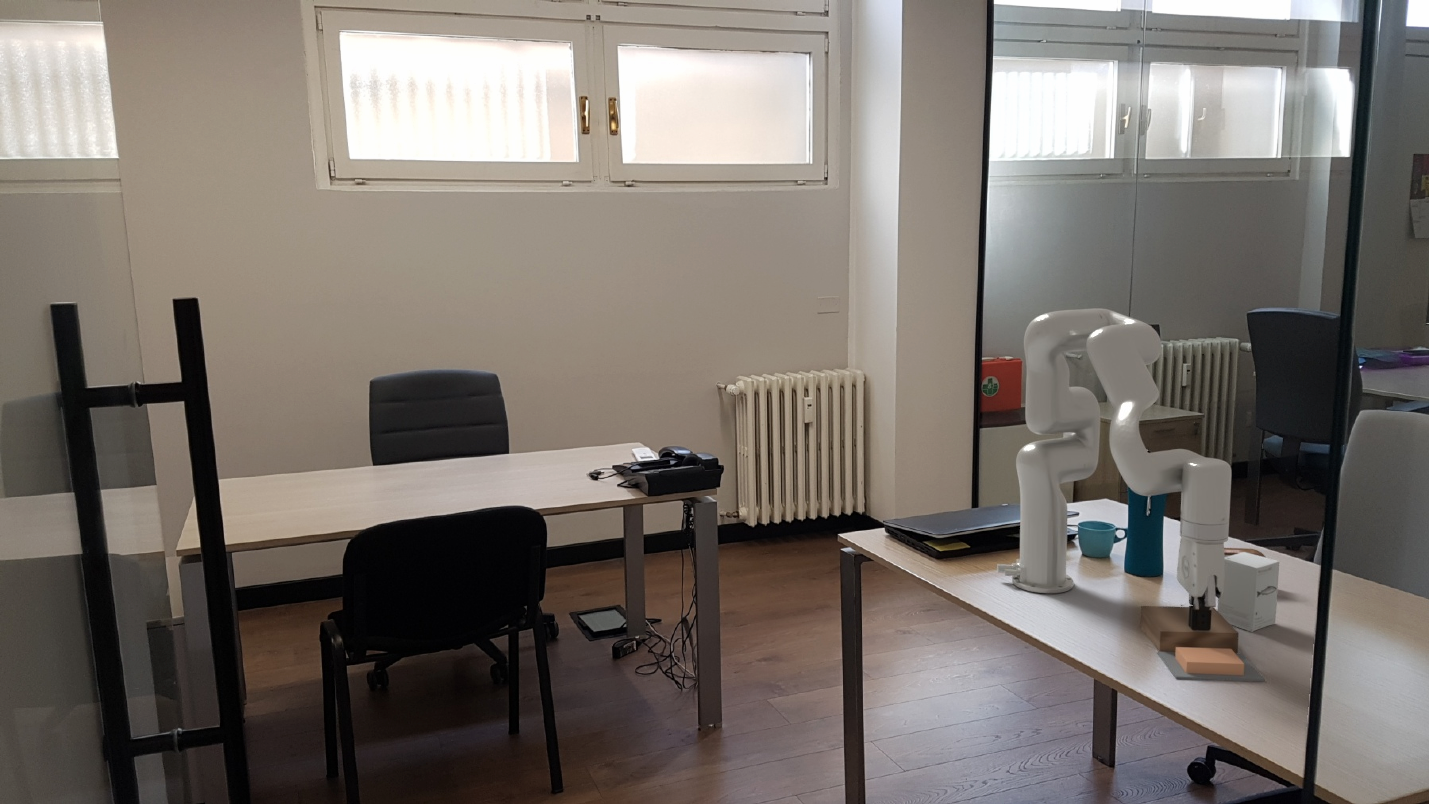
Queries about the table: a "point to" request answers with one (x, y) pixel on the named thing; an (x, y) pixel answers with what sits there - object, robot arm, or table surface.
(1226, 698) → the table surface
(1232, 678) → the mat
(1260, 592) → the supplement box
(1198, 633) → the wooden block
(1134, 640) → the table surface
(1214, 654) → the orange block
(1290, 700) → the table surface
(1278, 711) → the table surface
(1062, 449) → the robot arm
